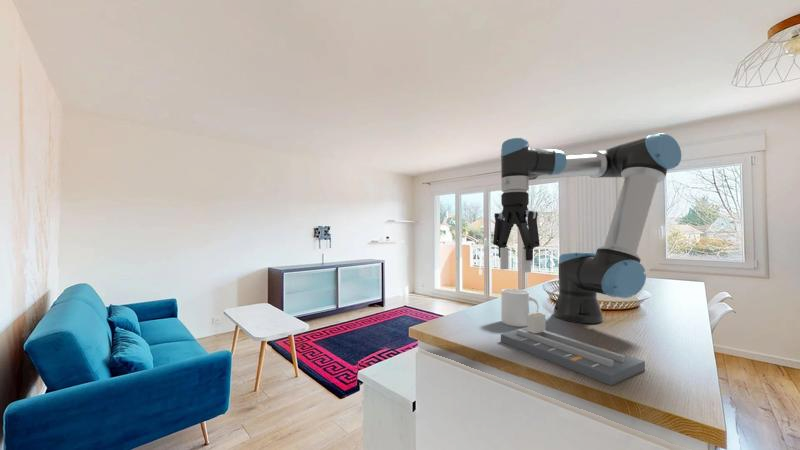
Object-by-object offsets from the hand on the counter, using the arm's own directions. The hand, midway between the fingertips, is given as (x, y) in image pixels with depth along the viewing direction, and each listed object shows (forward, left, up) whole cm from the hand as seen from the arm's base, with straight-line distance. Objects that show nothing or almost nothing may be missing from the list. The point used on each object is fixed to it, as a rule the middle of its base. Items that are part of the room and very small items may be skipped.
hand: (515, 270), depth 90 cm
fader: (0, +7, -17) cm, 18 cm away
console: (0, +15, -19) cm, 24 cm away
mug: (-12, -8, -19) cm, 24 cm away
